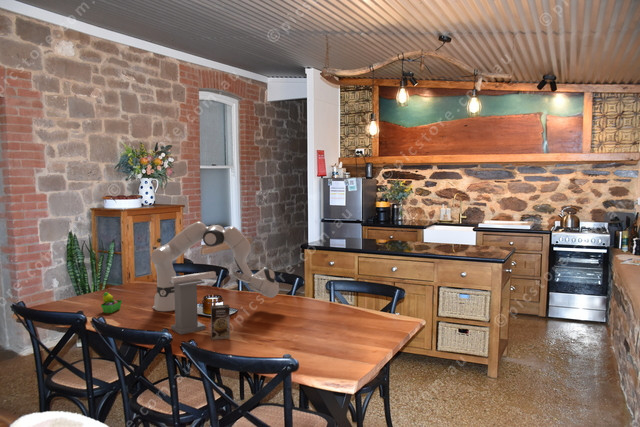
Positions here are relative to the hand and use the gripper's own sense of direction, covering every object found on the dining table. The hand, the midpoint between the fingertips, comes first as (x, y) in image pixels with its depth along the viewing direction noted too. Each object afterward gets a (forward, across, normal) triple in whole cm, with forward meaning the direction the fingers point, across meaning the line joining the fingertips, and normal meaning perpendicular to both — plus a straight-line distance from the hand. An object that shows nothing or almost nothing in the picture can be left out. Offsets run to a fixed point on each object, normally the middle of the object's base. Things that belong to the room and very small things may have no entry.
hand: (237, 274), depth 283 cm
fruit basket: (+32, -62, +48) cm, 85 cm away
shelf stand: (+14, 0, +37) cm, 40 cm away
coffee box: (+8, +22, +34) cm, 42 cm away
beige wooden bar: (+23, 0, +13) cm, 27 cm away
